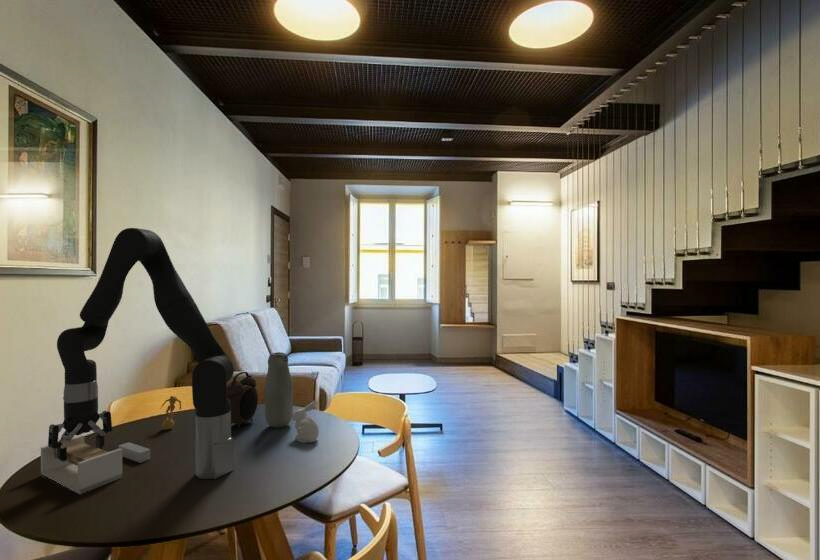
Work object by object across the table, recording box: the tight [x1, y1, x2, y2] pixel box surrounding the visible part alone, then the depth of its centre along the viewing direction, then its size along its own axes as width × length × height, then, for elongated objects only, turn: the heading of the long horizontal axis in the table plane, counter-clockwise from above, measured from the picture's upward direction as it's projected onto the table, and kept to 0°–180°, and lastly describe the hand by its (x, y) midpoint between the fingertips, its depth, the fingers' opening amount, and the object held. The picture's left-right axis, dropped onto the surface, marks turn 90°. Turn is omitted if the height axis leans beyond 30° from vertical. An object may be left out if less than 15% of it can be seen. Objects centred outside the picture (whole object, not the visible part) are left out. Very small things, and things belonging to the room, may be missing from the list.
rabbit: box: [291, 400, 320, 444], centre depth 140 cm, size 12×9×12 cm
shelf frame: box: [40, 434, 123, 495], centre depth 113 cm, size 22×10×8 cm, turn 63°
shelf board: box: [54, 441, 109, 466], centre depth 114 cm, size 18×6×2 cm, turn 63°
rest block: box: [117, 442, 151, 464], centre depth 126 cm, size 12×3×3 cm, turn 63°
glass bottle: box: [263, 352, 294, 429], centre depth 152 cm, size 10×10×28 cm
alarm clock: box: [227, 371, 259, 430], centre depth 154 cm, size 15×7×20 cm, turn 168°
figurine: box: [160, 395, 182, 431], centre depth 150 cm, size 8×6×12 cm
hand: (81, 454), depth 114 cm, fingers open, 8 cm apart
